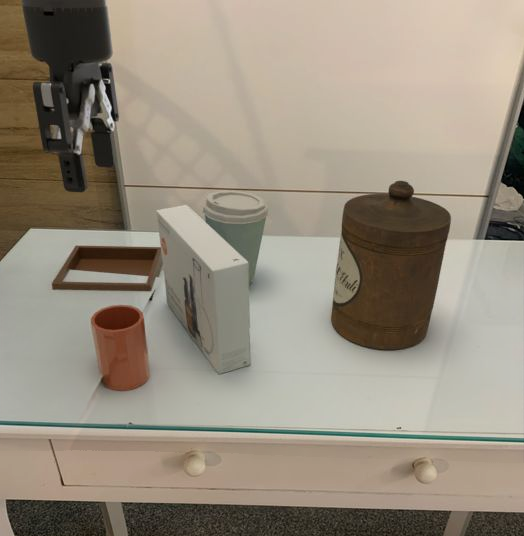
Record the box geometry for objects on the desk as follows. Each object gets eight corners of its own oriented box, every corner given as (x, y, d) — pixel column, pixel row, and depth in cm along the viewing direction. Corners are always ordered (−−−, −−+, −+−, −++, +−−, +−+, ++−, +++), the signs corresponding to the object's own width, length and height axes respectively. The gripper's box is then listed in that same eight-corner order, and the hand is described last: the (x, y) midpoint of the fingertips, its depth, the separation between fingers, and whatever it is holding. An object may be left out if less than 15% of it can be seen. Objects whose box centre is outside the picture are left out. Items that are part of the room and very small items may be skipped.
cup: (93, 388, 71) (82, 329, 66) (110, 359, 76) (101, 302, 71) (141, 393, 70) (134, 333, 65) (155, 364, 76) (149, 307, 70)
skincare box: (163, 304, 89) (154, 208, 80) (194, 297, 91) (190, 203, 82) (215, 376, 74) (212, 268, 65) (251, 366, 76) (254, 260, 67)
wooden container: (337, 294, 93) (353, 161, 81) (428, 307, 90) (459, 172, 78) (322, 341, 81) (339, 194, 69) (426, 358, 79) (462, 208, 66)
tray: (54, 299, 89) (51, 283, 88) (78, 259, 101) (75, 245, 100) (151, 300, 90) (150, 285, 88) (163, 261, 102) (162, 247, 100)
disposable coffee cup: (237, 261, 102) (237, 181, 94) (279, 282, 96) (283, 198, 88) (192, 279, 96) (188, 195, 88) (234, 302, 90) (234, 214, 81)
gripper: (58, -3, 57) (84, 158, 66) (-16, 4, 45) (28, 198, 54) (129, -1, 56) (145, 161, 65) (72, 6, 45) (102, 202, 54)
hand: (92, 178), depth 60 cm, fingers open, 8 cm apart
